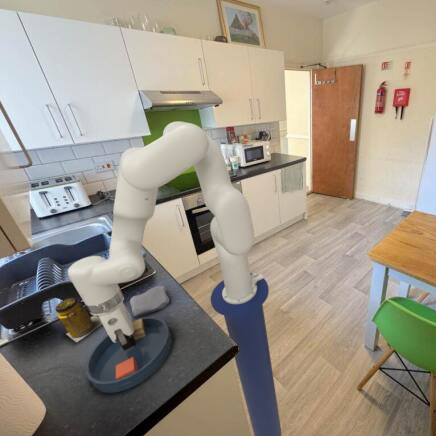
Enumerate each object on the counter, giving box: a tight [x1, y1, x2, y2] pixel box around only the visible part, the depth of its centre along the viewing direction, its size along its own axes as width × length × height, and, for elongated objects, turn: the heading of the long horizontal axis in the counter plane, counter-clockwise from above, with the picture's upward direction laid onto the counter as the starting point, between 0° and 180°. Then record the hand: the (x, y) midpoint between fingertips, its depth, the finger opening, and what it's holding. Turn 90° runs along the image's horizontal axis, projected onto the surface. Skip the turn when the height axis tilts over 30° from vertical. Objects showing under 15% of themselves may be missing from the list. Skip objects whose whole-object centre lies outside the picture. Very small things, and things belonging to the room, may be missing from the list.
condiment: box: [55, 297, 103, 343], centre depth 76 cm, size 7×8×12 cm
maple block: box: [132, 318, 146, 340], centre depth 74 cm, size 4×4×4 cm
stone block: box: [129, 285, 170, 317], centre depth 86 cm, size 12×5×10 cm
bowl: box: [85, 316, 173, 394], centre depth 69 cm, size 20×20×4 cm
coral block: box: [116, 357, 138, 380], centre depth 63 cm, size 4×4×4 cm
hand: (130, 345), depth 71 cm, fingers closed
